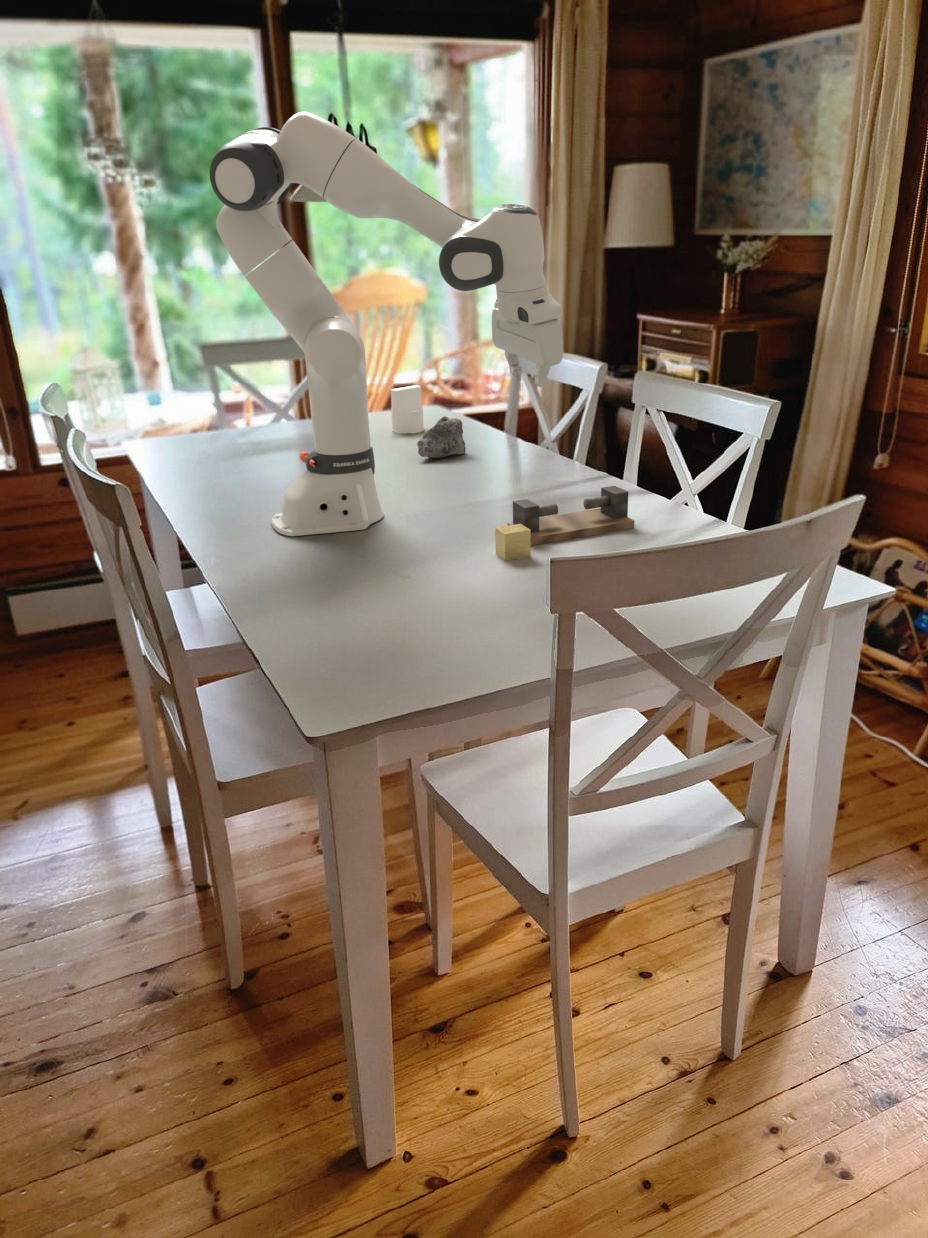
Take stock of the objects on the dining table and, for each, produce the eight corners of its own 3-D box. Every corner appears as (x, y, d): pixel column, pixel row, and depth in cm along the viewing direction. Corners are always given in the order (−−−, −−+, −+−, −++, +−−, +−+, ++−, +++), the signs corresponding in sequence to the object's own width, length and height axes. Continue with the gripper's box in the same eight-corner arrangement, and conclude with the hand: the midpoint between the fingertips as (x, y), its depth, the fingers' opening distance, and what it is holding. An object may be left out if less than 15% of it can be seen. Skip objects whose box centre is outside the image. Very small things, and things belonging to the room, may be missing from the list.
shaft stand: (530, 545, 169) (530, 511, 166) (507, 530, 178) (507, 497, 175) (634, 527, 176) (635, 494, 174) (607, 514, 185) (608, 482, 182)
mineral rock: (418, 463, 229) (416, 422, 225) (413, 453, 239) (411, 414, 235) (470, 459, 231) (468, 419, 227) (463, 449, 241) (461, 411, 237)
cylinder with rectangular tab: (411, 425, 271) (409, 383, 266) (430, 430, 264) (428, 387, 259) (386, 430, 266) (383, 388, 261) (404, 435, 259) (402, 391, 254)
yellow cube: (505, 561, 162) (504, 533, 160) (495, 554, 166) (495, 527, 164) (530, 556, 164) (530, 529, 162) (520, 550, 167) (520, 523, 165)
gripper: (480, 297, 171) (487, 371, 178) (535, 316, 155) (541, 396, 162) (509, 291, 173) (515, 364, 180) (567, 308, 157) (572, 388, 164)
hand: (528, 379), depth 171 cm, fingers open, 8 cm apart
